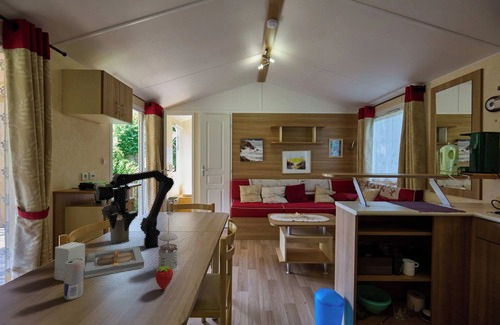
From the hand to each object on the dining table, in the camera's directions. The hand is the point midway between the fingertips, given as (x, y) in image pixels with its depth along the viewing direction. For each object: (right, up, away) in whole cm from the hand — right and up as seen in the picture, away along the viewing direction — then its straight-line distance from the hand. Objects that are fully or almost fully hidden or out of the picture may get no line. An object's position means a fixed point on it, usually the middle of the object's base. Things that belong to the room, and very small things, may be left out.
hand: (119, 229), depth 125 cm
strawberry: (+34, -13, -34) cm, 50 cm away
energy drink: (+5, -12, -40) cm, 42 cm away
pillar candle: (-10, -12, +20) cm, 25 cm away
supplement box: (-6, -12, -25) cm, 29 cm away
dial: (+4, -11, -11) cm, 16 cm away
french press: (+29, -13, -15) cm, 35 cm away
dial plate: (+4, -12, -11) cm, 17 cm away
